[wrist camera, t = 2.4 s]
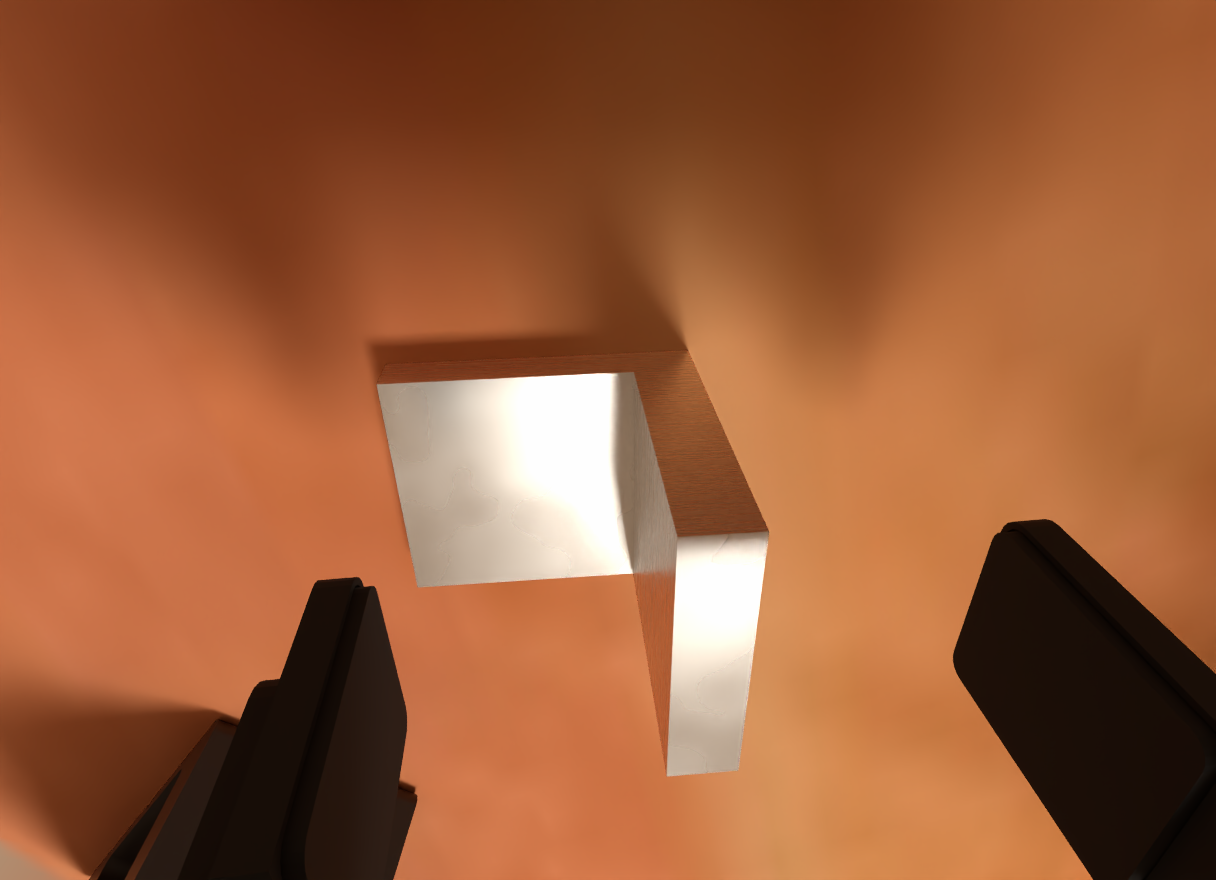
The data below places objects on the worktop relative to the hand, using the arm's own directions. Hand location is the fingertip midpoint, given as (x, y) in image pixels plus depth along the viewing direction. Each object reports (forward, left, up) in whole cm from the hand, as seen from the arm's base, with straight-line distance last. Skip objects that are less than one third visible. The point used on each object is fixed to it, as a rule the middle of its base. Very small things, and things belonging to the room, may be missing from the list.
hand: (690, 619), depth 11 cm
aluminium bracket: (+2, 0, -5) cm, 6 cm away
